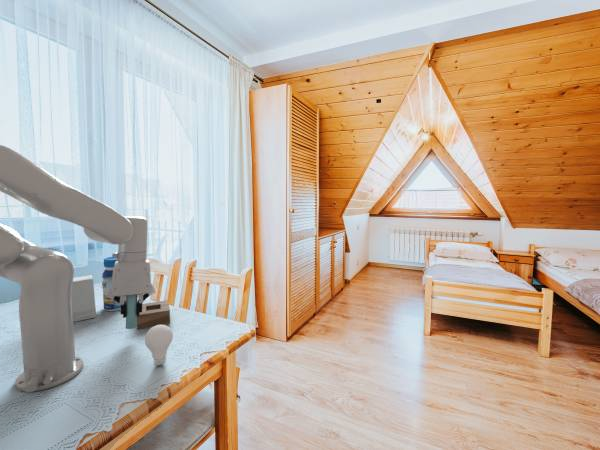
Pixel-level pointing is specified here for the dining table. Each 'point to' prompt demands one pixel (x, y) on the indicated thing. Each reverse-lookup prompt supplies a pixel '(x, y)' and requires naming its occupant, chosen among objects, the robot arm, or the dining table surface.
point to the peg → (131, 311)
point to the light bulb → (159, 342)
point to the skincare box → (83, 298)
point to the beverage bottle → (109, 285)
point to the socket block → (154, 315)
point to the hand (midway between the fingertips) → (131, 314)
